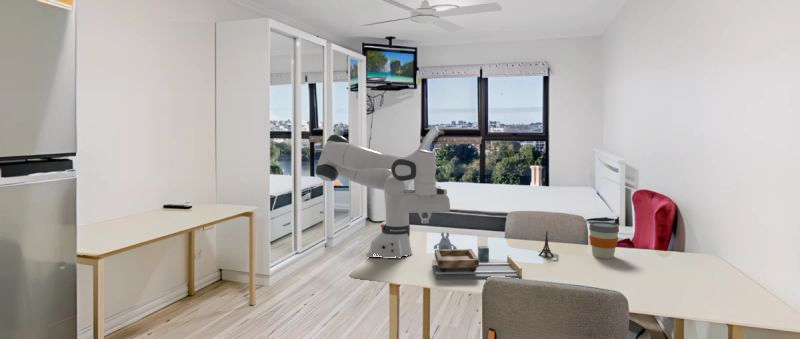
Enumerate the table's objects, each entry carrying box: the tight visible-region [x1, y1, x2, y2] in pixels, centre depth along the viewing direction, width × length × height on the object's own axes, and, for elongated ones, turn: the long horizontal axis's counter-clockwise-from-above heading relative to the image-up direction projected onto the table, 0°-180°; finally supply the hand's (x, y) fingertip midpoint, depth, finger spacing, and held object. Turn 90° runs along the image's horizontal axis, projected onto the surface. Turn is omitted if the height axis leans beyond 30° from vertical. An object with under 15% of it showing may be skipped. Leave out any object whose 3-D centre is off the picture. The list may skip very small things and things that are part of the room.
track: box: [431, 255, 523, 280], centre depth 179 cm, size 34×18×4 cm, turn 91°
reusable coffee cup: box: [588, 221, 620, 259], centre depth 200 cm, size 13×12×15 cm
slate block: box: [477, 245, 490, 262], centre depth 195 cm, size 4×4×6 cm
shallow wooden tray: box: [434, 248, 480, 272], centre depth 179 cm, size 16×16×6 cm
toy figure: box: [433, 231, 458, 250], centre depth 199 cm, size 11×6×12 cm, turn 77°
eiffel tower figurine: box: [537, 230, 559, 263], centre depth 200 cm, size 15×10×13 cm
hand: (425, 223), depth 175 cm, fingers closed
